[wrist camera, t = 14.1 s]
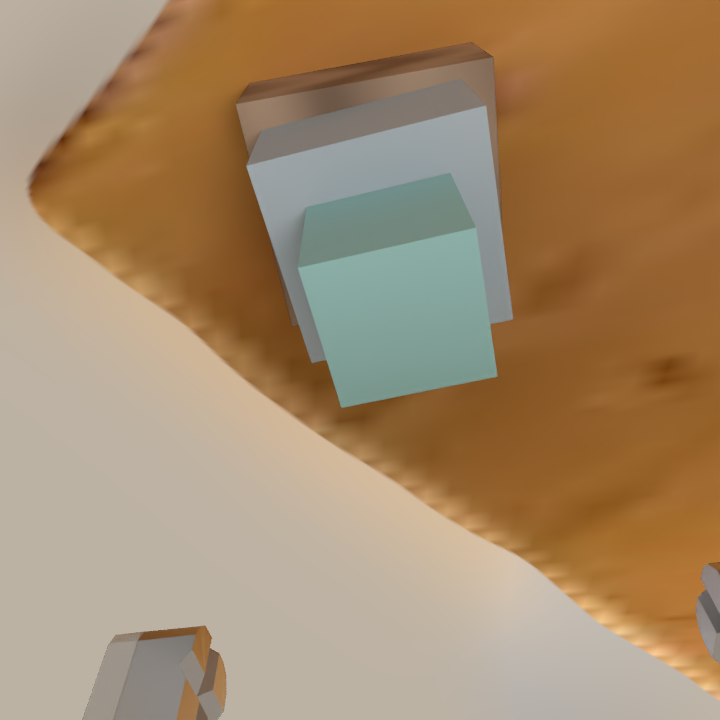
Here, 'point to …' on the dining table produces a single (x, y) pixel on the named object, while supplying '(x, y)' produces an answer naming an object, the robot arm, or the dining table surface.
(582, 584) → the dining table surface
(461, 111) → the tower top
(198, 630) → the robot arm
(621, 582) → the dining table surface
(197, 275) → the dining table surface
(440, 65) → the tower base
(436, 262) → the teal block
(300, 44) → the dining table surface
